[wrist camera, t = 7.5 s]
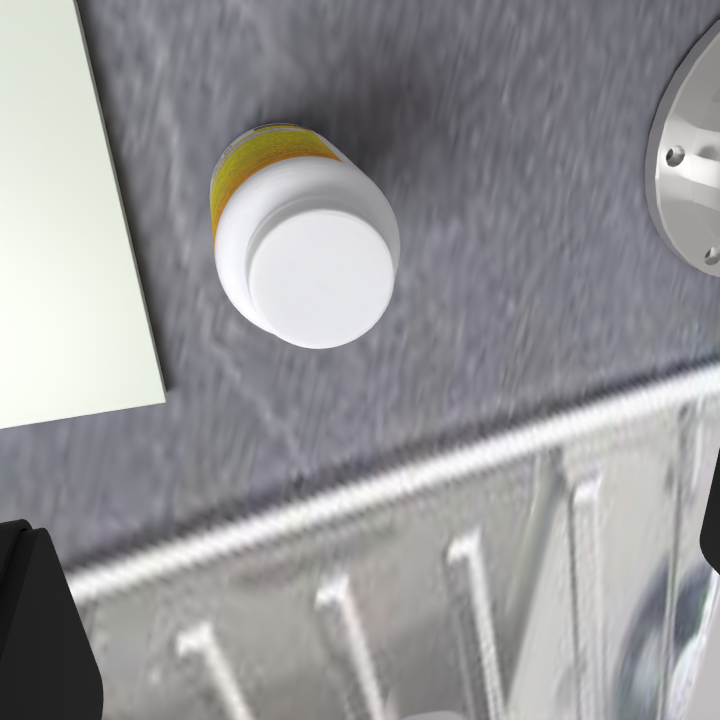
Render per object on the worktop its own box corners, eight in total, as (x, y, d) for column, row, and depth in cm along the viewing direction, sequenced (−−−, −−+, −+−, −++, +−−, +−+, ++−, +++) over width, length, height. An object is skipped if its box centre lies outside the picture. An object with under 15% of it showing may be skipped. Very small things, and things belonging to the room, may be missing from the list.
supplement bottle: (181, 211, 26) (173, 311, 17) (262, 88, 25) (299, 127, 16) (297, 286, 28) (343, 408, 20) (377, 178, 27) (465, 255, 18)
